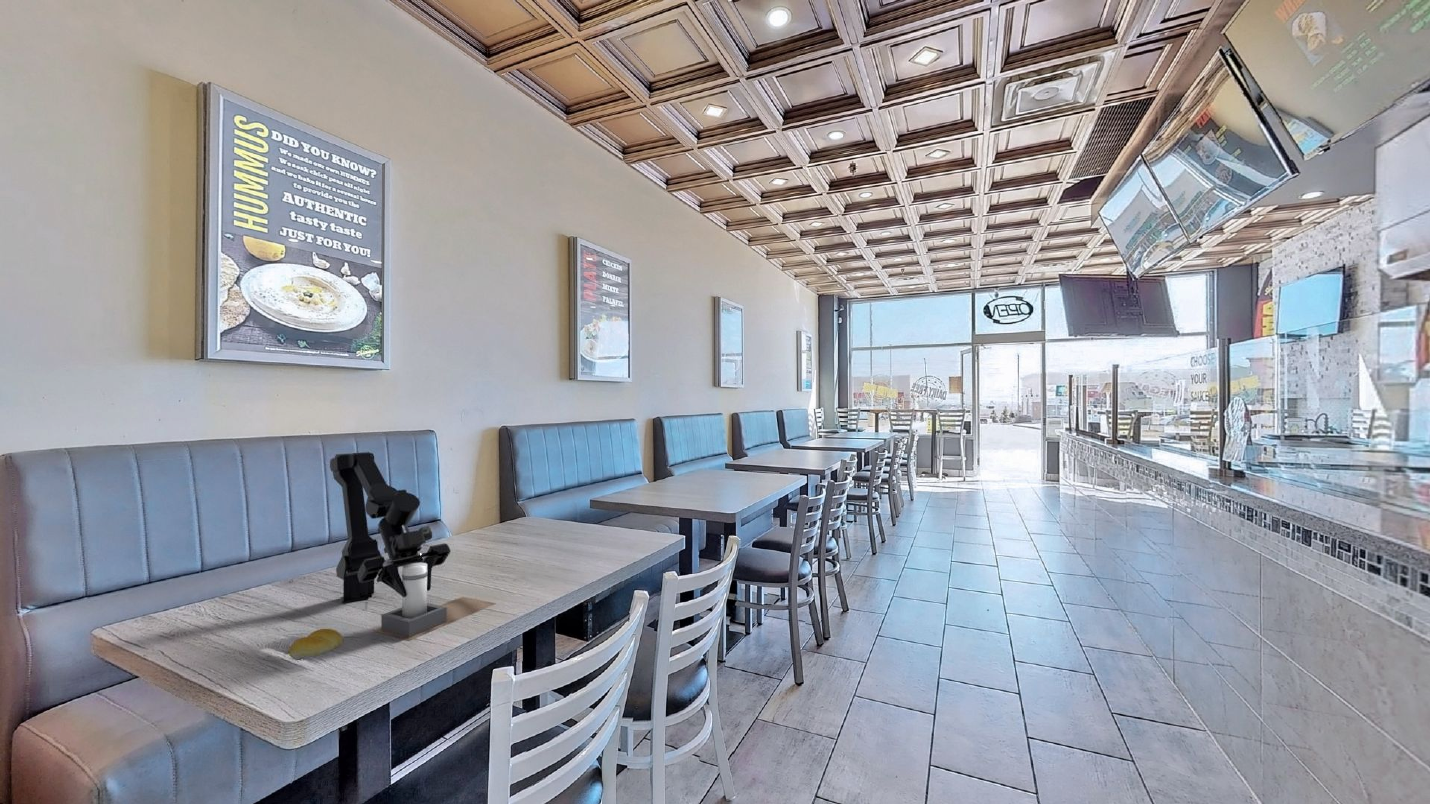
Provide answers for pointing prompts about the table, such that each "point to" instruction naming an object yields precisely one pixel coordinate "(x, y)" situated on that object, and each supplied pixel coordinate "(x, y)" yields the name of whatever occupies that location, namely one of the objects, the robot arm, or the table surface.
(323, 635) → the bread roll
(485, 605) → the board
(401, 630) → the socket collar
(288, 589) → the table surface
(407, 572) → the white capped cylinder
